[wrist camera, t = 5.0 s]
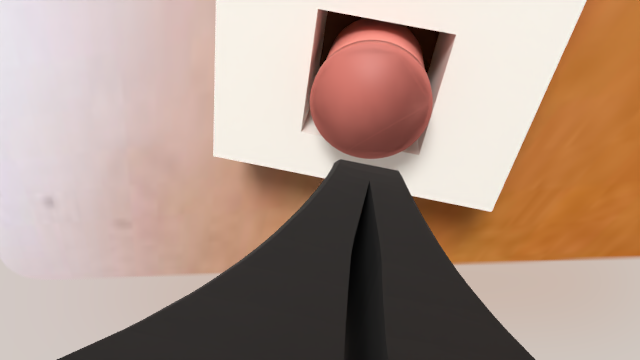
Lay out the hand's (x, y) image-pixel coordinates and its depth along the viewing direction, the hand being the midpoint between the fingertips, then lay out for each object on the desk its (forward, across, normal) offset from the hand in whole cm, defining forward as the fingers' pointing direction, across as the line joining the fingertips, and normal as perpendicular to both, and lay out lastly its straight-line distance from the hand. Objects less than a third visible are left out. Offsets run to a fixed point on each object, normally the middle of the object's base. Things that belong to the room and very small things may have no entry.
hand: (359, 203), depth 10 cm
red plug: (+9, 0, 0) cm, 9 cm away
